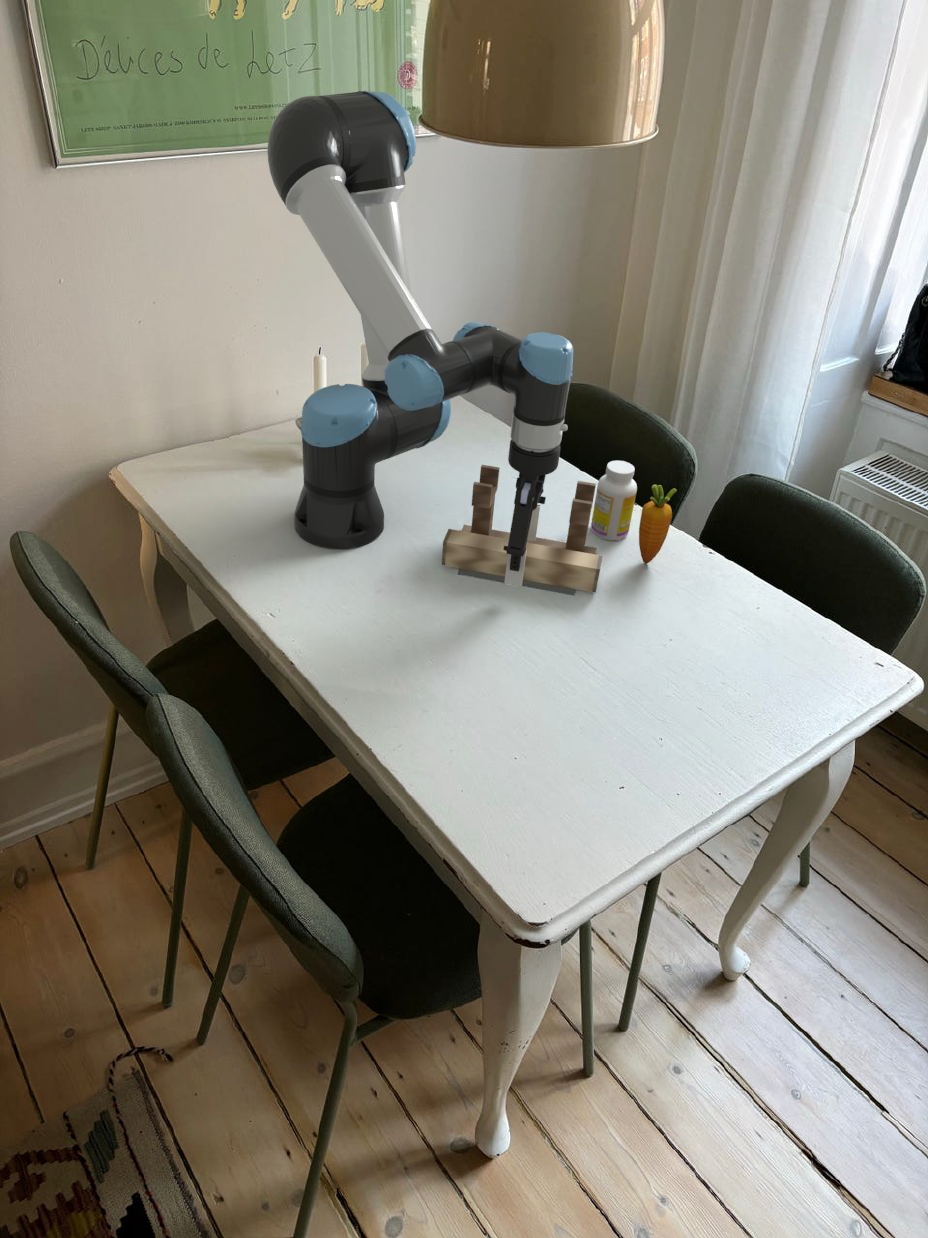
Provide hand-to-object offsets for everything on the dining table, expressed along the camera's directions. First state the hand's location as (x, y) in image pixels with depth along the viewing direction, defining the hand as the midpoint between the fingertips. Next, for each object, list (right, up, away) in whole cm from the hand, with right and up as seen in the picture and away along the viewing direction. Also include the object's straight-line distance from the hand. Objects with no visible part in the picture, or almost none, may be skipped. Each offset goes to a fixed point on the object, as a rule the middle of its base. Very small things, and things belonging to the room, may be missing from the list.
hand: (520, 560), depth 156 cm
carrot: (+21, 0, +7) cm, 23 cm away
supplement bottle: (+16, +6, +14) cm, 22 cm away
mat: (0, -2, +2) cm, 3 cm away
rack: (+2, +3, +8) cm, 8 cm away
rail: (0, -2, +1) cm, 2 cm away
